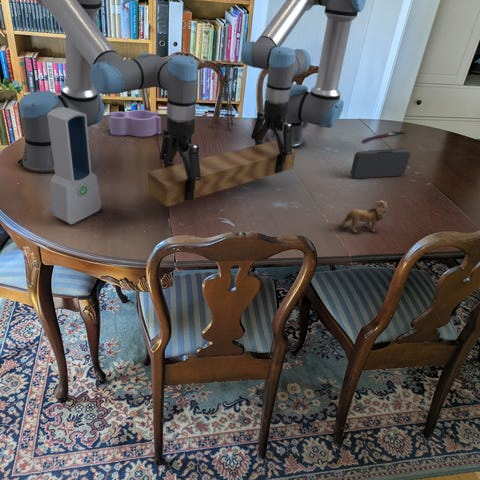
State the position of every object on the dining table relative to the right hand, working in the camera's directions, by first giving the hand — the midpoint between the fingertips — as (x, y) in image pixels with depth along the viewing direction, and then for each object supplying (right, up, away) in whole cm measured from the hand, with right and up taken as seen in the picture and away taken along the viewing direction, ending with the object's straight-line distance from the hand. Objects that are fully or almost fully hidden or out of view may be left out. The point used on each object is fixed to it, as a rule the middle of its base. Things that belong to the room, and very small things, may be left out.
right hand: (268, 166), depth 158 cm
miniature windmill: (-18, +26, +50) cm, 59 cm away
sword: (+57, +22, +57) cm, 83 cm away
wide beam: (-14, -6, -10) cm, 18 cm away
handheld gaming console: (+42, -1, +19) cm, 46 cm away
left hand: (-28, -11, -21) cm, 36 cm away
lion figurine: (+27, -22, -16) cm, 38 cm away
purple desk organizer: (-53, +20, +34) cm, 66 cm away
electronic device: (-57, -18, -24) cm, 64 cm away
